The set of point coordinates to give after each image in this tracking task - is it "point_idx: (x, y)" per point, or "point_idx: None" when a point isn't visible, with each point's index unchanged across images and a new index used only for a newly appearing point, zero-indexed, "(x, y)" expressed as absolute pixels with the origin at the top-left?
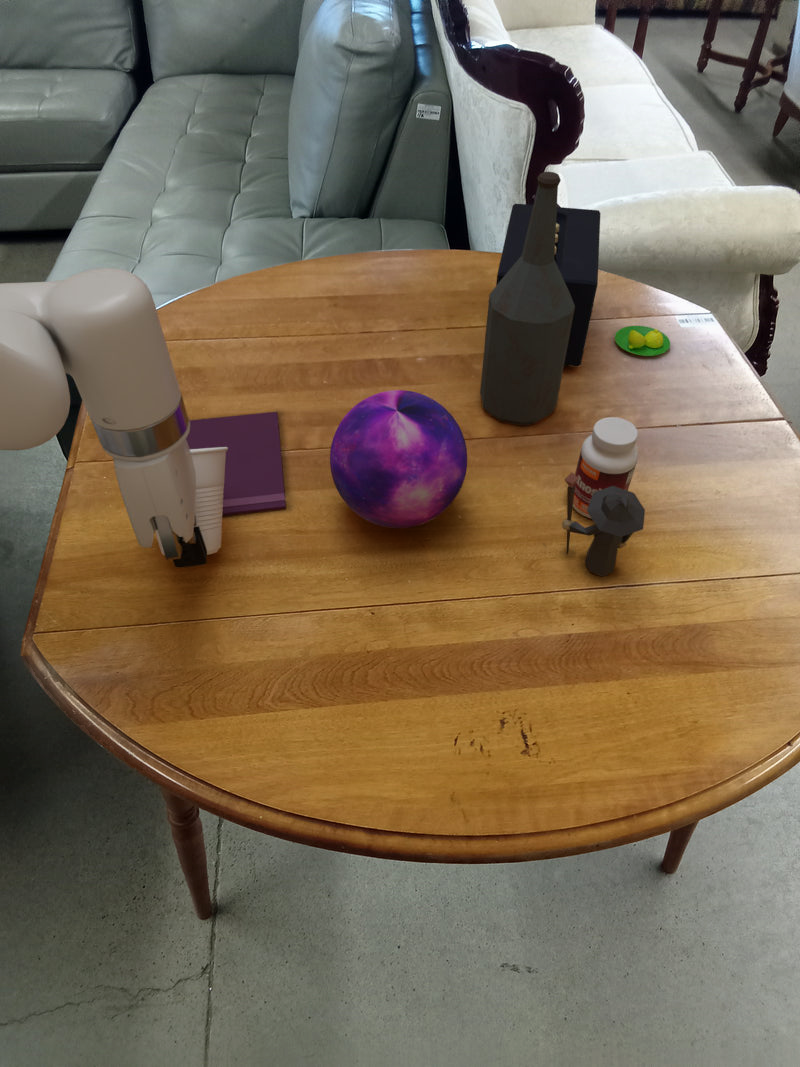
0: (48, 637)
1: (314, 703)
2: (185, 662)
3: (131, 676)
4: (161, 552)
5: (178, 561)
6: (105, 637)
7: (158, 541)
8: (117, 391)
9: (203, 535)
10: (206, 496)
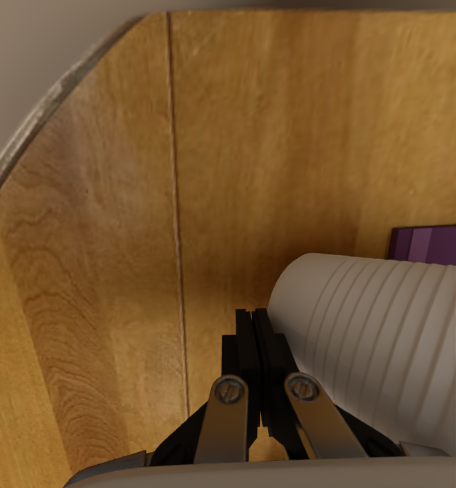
0: (156, 45)
1: (60, 416)
2: (109, 284)
3: (81, 213)
4: (297, 260)
5: (236, 326)
6: (154, 160)
7: (316, 266)
8: None
9: (298, 367)
10: None
